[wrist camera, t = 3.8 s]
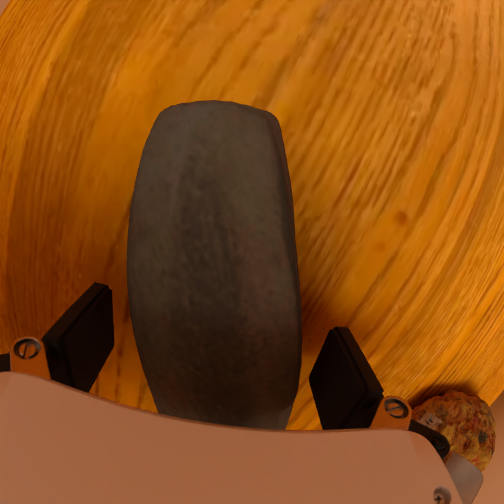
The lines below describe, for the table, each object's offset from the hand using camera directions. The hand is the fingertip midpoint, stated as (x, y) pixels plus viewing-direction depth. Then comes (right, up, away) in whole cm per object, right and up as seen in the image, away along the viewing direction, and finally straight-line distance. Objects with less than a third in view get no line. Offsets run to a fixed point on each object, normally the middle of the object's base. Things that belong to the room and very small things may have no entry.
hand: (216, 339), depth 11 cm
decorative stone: (0, +1, +2) cm, 2 cm away
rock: (+18, -11, +6) cm, 21 cm away
